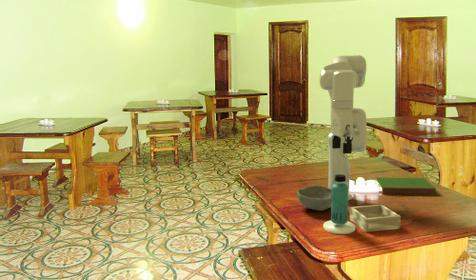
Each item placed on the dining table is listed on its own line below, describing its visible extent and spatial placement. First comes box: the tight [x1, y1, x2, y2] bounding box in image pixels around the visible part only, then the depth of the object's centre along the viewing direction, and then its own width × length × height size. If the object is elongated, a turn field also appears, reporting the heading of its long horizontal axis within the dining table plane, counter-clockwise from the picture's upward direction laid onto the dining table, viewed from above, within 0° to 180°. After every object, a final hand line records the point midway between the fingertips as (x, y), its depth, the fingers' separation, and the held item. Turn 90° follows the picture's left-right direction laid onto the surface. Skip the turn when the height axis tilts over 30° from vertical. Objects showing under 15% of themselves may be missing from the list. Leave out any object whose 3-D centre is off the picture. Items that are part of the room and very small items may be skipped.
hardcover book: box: [375, 177, 437, 196], centre depth 211 cm, size 25×19×4 cm
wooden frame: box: [349, 204, 402, 233], centre depth 167 cm, size 14×14×5 cm
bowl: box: [296, 184, 332, 212], centre depth 185 cm, size 18×18×8 cm
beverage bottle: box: [330, 174, 349, 224], centre depth 162 cm, size 6×7×20 cm
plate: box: [322, 219, 356, 235], centre depth 163 cm, size 12×12×1 cm
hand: (341, 150), depth 158 cm, fingers open, 9 cm apart
